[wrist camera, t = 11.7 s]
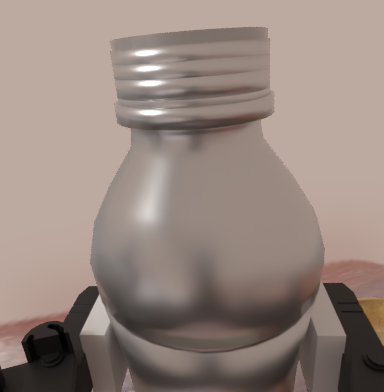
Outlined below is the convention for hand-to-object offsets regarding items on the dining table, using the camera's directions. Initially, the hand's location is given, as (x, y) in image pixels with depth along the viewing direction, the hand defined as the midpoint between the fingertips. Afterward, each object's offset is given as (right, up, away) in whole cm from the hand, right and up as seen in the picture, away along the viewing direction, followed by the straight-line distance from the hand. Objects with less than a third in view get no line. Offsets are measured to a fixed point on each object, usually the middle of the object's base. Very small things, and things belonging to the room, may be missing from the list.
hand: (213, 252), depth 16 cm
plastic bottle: (0, -12, 0) cm, 12 cm away
